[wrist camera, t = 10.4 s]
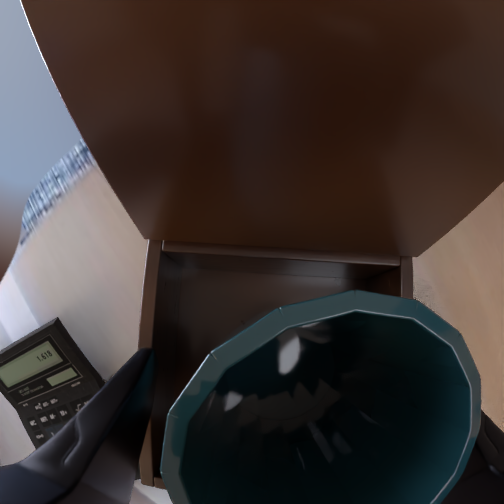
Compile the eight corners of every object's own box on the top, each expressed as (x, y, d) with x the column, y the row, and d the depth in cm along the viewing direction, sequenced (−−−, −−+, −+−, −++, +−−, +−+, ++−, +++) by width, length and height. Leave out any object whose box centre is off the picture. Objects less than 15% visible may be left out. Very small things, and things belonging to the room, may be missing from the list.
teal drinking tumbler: (357, 377, 16) (503, 442, 4) (263, 441, 15) (286, 594, 3) (295, 286, 17) (394, 220, 5) (196, 352, 16) (93, 419, 4)
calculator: (67, 486, 14) (49, 501, 11) (3, 358, 16) (-22, 360, 13) (156, 470, 15) (142, 491, 12) (76, 318, 17) (50, 316, 14)
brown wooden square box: (356, 452, 15) (387, 487, 10) (165, 446, 15) (140, 484, 10) (371, 270, 18) (412, 252, 13) (175, 257, 18) (148, 234, 13)
